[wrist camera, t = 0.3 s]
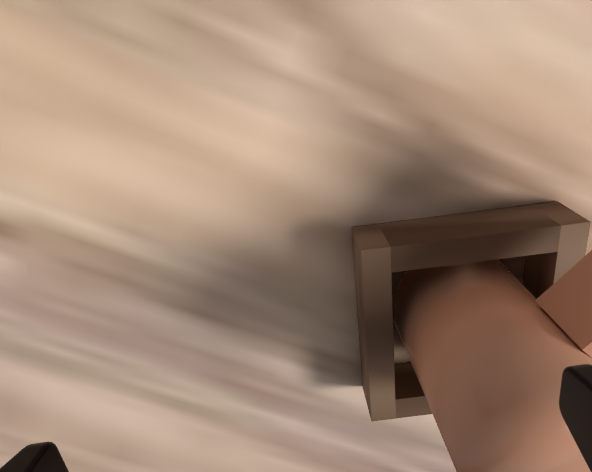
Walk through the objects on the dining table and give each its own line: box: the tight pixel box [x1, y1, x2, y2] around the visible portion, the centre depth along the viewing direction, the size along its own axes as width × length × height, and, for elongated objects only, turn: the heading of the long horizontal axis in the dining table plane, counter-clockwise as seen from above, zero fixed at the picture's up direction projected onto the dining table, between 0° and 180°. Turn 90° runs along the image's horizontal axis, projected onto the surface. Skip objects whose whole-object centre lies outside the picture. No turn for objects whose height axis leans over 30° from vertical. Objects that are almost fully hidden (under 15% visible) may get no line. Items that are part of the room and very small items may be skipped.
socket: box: [352, 201, 590, 421], centre depth 22 cm, size 9×9×2 cm
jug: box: [392, 250, 592, 472], centre depth 19 cm, size 11×6×9 cm, turn 141°
